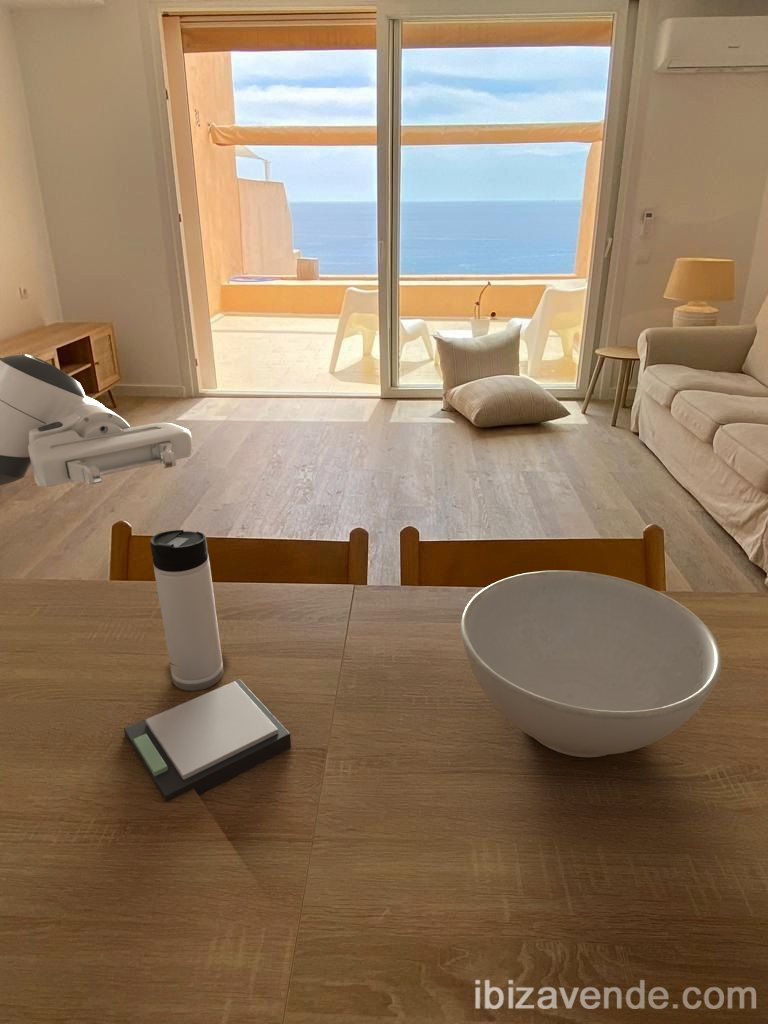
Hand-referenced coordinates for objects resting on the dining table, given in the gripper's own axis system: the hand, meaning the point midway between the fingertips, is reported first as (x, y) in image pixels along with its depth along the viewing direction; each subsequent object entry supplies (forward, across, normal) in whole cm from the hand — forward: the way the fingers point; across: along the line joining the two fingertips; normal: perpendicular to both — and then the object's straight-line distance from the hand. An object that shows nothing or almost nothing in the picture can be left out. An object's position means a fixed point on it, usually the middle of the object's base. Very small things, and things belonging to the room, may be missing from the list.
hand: (133, 469), depth 86 cm
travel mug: (+12, 0, -24) cm, 27 cm away
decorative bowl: (+46, -31, -24) cm, 61 cm away
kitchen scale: (+24, +4, -24) cm, 35 cm away
